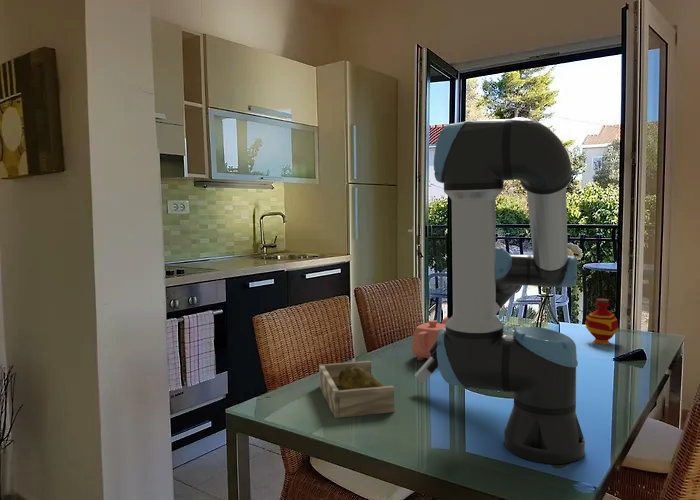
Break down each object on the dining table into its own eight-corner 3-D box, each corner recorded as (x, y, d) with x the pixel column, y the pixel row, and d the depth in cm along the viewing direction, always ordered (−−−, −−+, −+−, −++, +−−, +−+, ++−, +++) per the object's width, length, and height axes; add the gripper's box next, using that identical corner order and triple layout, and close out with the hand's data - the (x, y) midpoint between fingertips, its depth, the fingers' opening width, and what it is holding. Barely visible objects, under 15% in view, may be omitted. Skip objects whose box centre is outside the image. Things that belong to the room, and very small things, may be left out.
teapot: (437, 368, 160) (437, 328, 159) (402, 362, 167) (402, 324, 166) (464, 352, 177) (464, 316, 176) (431, 347, 184) (430, 312, 182)
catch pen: (394, 412, 127) (394, 387, 127) (334, 418, 124) (334, 392, 124) (370, 381, 149) (370, 360, 149) (319, 386, 146) (318, 364, 146)
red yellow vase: (619, 340, 189) (620, 298, 187) (616, 347, 180) (617, 303, 179) (587, 337, 194) (588, 296, 193) (582, 343, 186) (583, 300, 184)
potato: (363, 412, 128) (363, 379, 127) (333, 396, 138) (333, 366, 138) (391, 404, 132) (390, 372, 132) (360, 390, 143) (359, 360, 142)
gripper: (499, 326, 137) (437, 396, 134) (476, 316, 149) (419, 380, 147) (480, 306, 135) (417, 378, 133) (458, 298, 148) (400, 363, 145)
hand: (418, 379), depth 140 cm, fingers closed
